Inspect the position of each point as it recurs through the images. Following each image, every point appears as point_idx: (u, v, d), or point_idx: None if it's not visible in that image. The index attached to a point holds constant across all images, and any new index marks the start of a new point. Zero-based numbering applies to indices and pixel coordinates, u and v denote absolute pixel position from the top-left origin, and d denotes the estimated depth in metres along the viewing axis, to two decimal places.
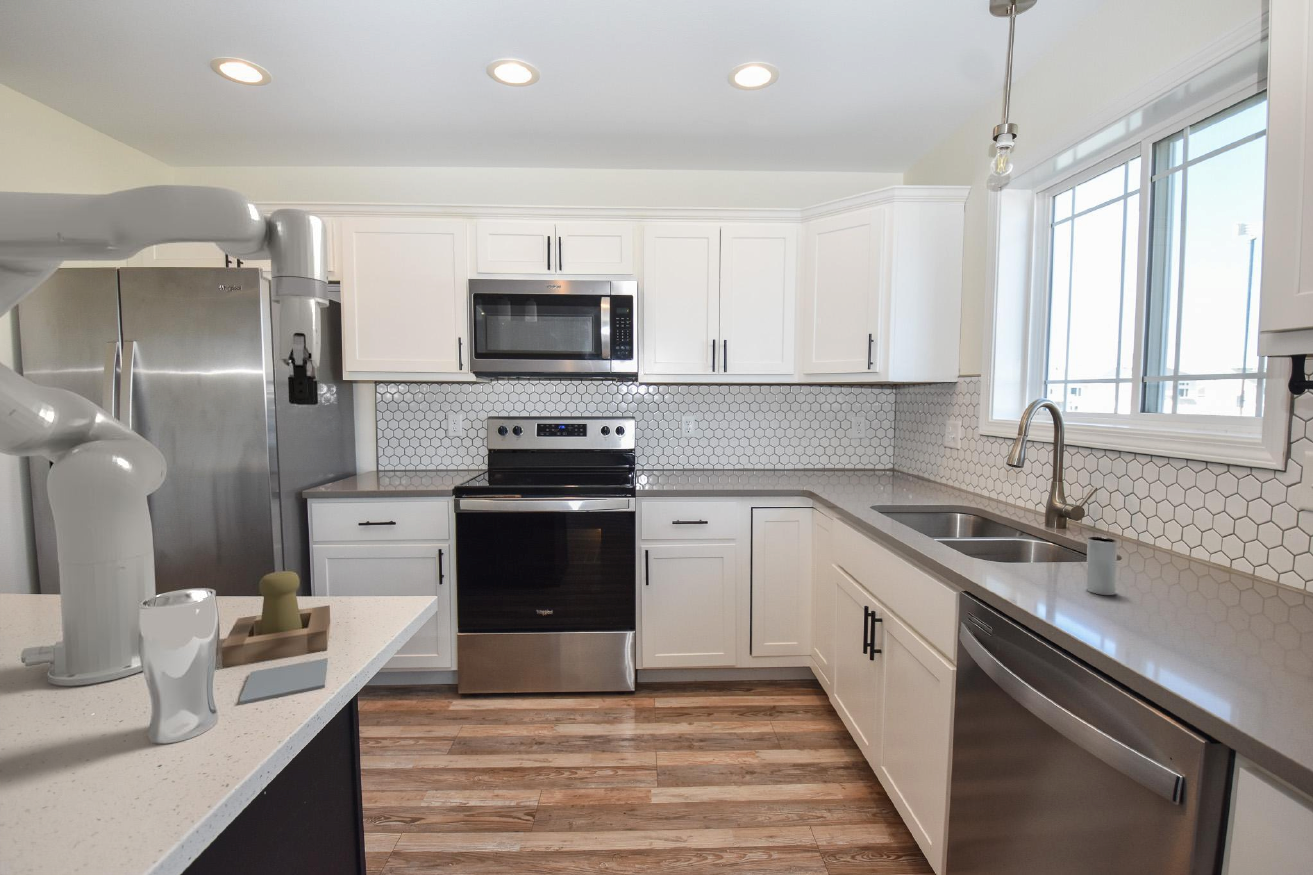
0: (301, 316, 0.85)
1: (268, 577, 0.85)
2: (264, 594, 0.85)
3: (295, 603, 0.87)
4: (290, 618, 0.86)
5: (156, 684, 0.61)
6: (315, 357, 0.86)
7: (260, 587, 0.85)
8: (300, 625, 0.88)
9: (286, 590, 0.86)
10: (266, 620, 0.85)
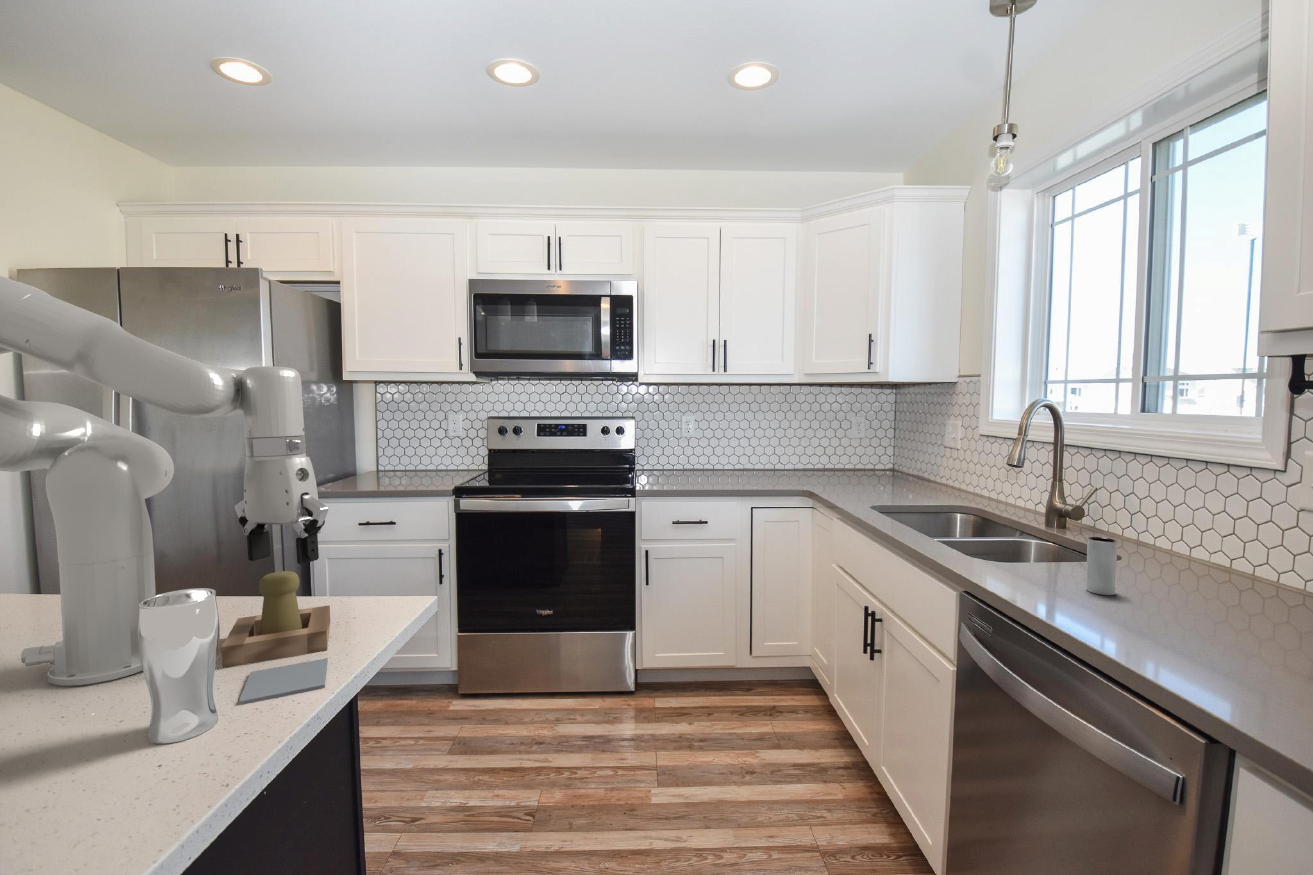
0: None
1: (268, 577, 0.85)
2: (264, 594, 0.85)
3: (295, 603, 0.87)
4: (290, 618, 0.86)
5: (156, 684, 0.61)
6: (246, 516, 0.86)
7: (260, 587, 0.85)
8: (300, 625, 0.88)
9: (286, 590, 0.86)
10: (266, 620, 0.85)
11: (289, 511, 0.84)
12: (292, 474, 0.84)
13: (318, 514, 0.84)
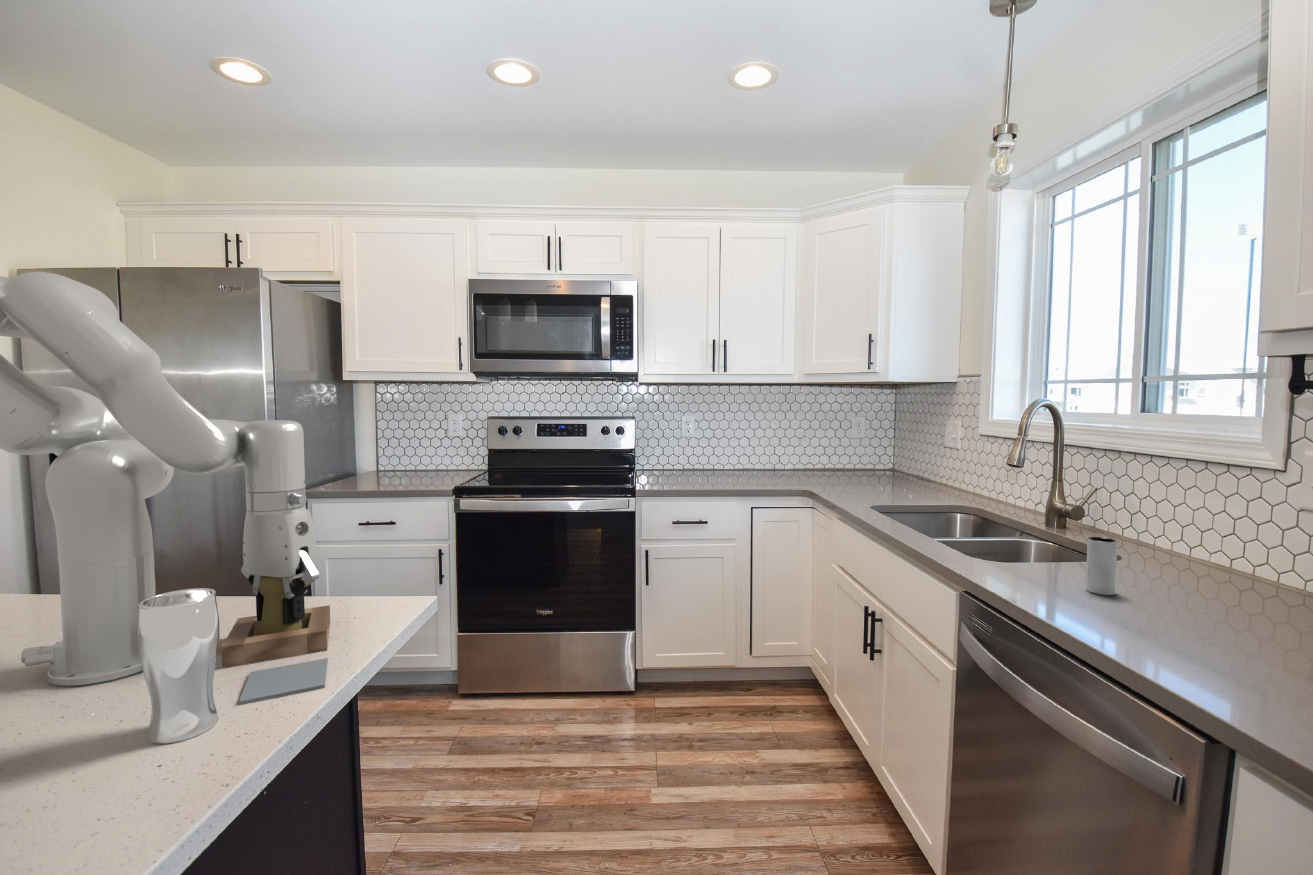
0: None
1: (268, 577, 0.85)
2: (264, 594, 0.85)
3: None
4: None
5: (156, 684, 0.61)
6: (245, 568, 0.86)
7: (260, 587, 0.85)
8: (300, 625, 0.88)
9: None
10: (267, 620, 0.85)
11: (288, 566, 0.84)
12: (292, 529, 0.84)
13: (308, 580, 0.85)
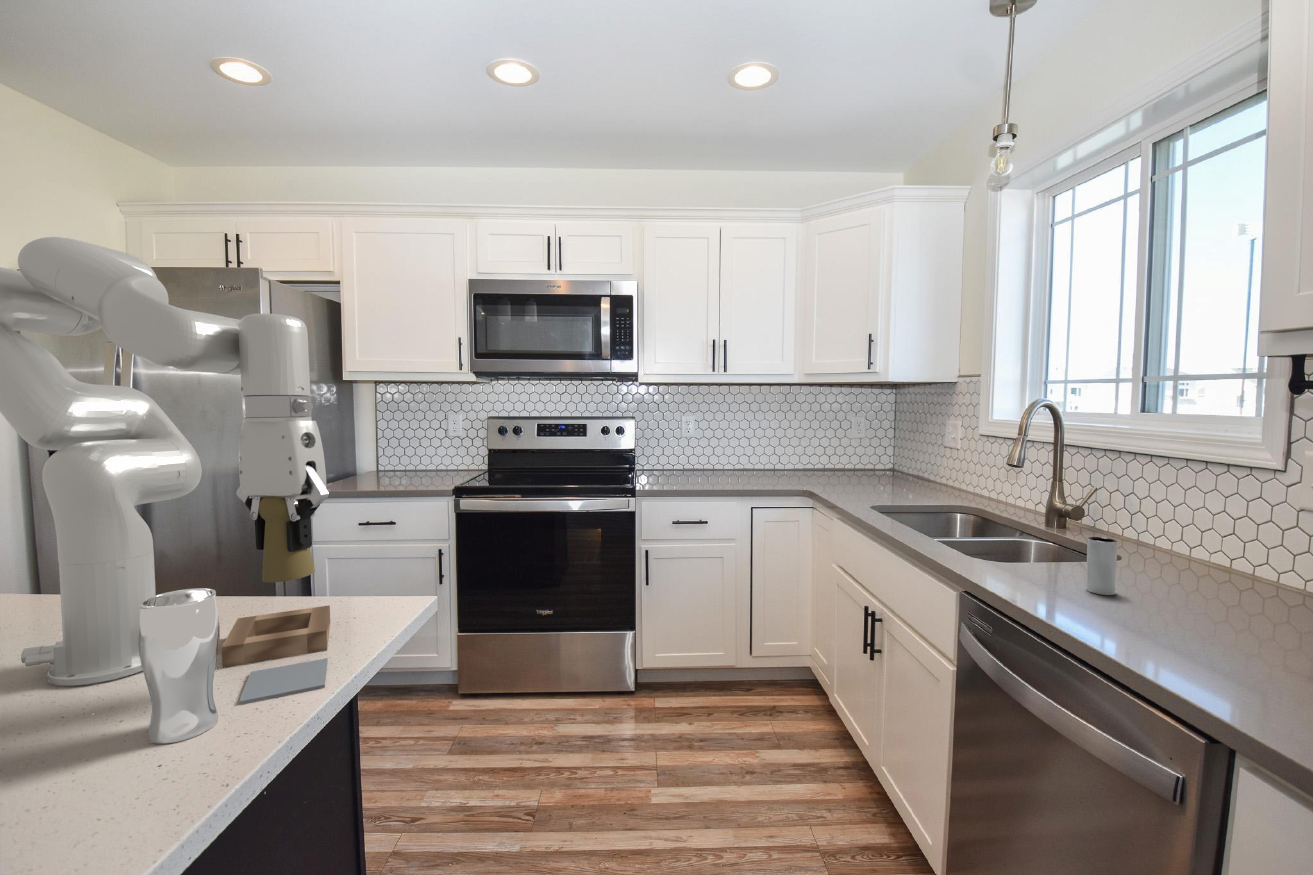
0: None
1: (269, 497, 0.74)
2: (266, 516, 0.73)
3: None
4: None
5: (156, 684, 0.61)
6: (241, 488, 0.74)
7: (260, 509, 0.73)
8: (309, 554, 0.76)
9: None
10: (270, 546, 0.73)
11: (292, 481, 0.72)
12: (296, 439, 0.72)
13: (316, 498, 0.73)
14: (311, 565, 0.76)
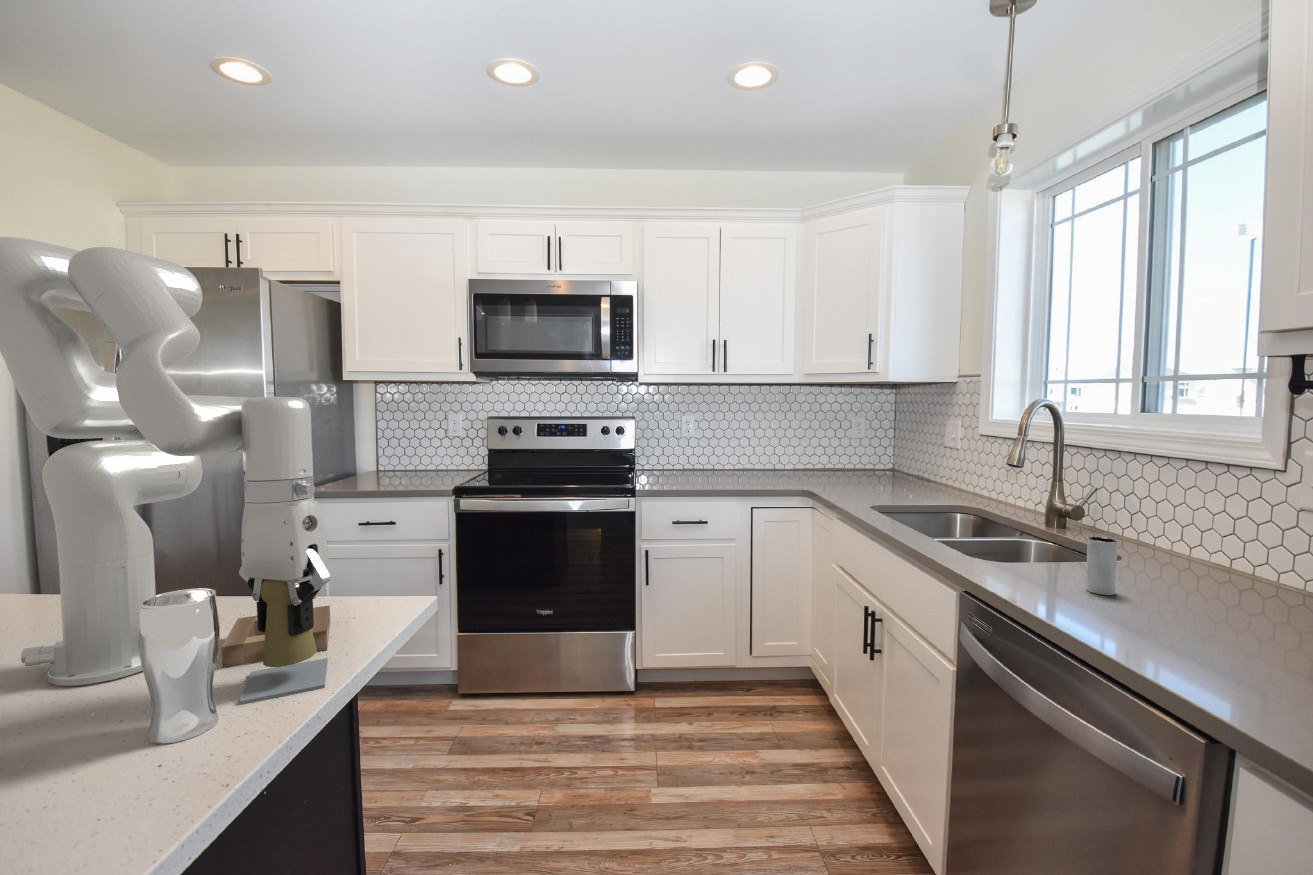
0: None
1: (271, 580, 0.73)
2: (267, 600, 0.72)
3: None
4: None
5: (156, 684, 0.61)
6: (243, 570, 0.74)
7: (262, 592, 0.73)
8: (311, 634, 0.76)
9: None
10: (271, 630, 0.73)
11: (294, 567, 0.71)
12: (298, 523, 0.72)
13: (317, 583, 0.72)
14: (313, 646, 0.76)
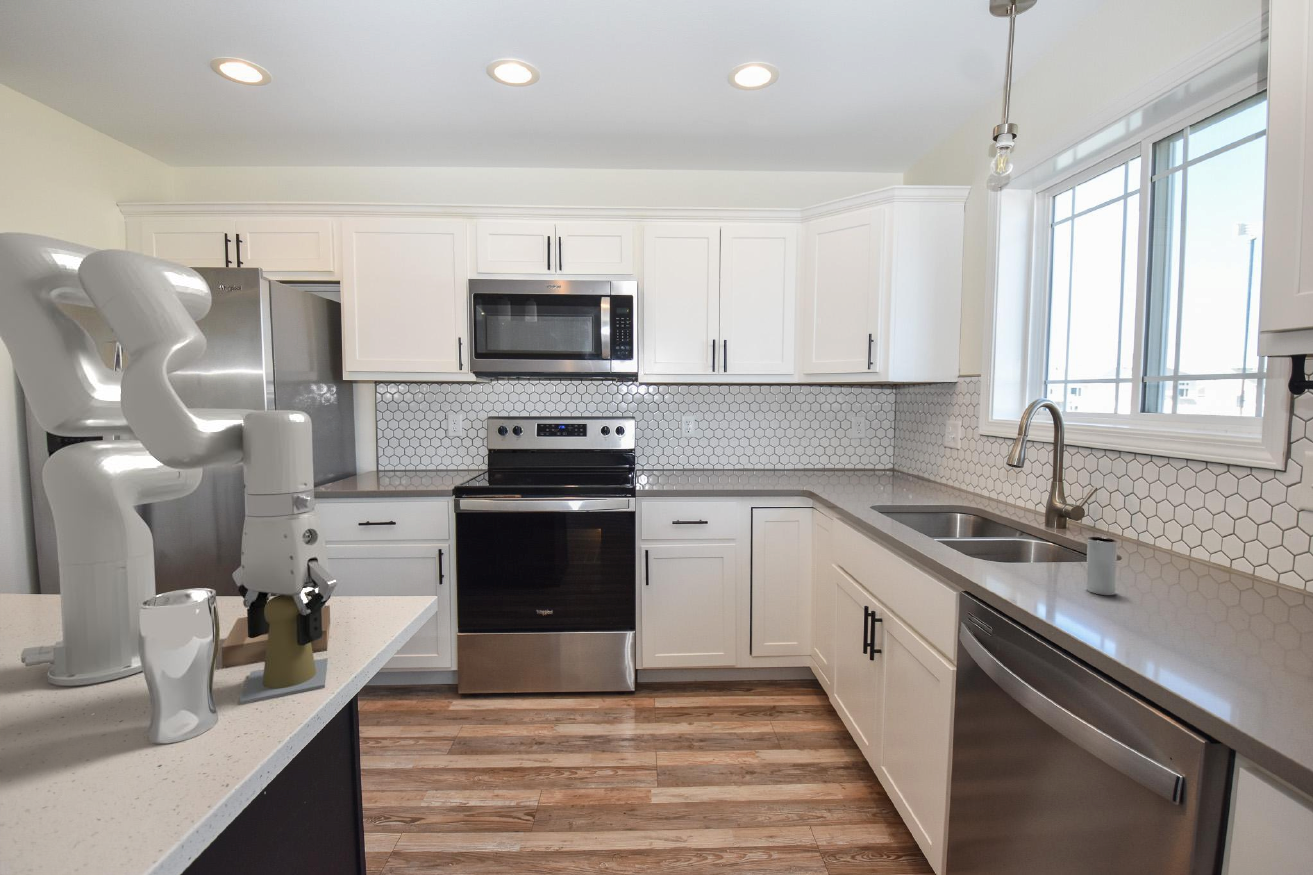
0: None
1: (275, 601, 0.73)
2: (271, 621, 0.73)
3: None
4: (300, 648, 0.74)
5: (156, 684, 0.61)
6: (243, 582, 0.74)
7: (266, 613, 0.73)
8: (312, 656, 0.76)
9: None
10: (273, 651, 0.73)
11: (294, 580, 0.71)
12: (298, 537, 0.72)
13: (324, 589, 0.72)
14: (313, 668, 0.76)
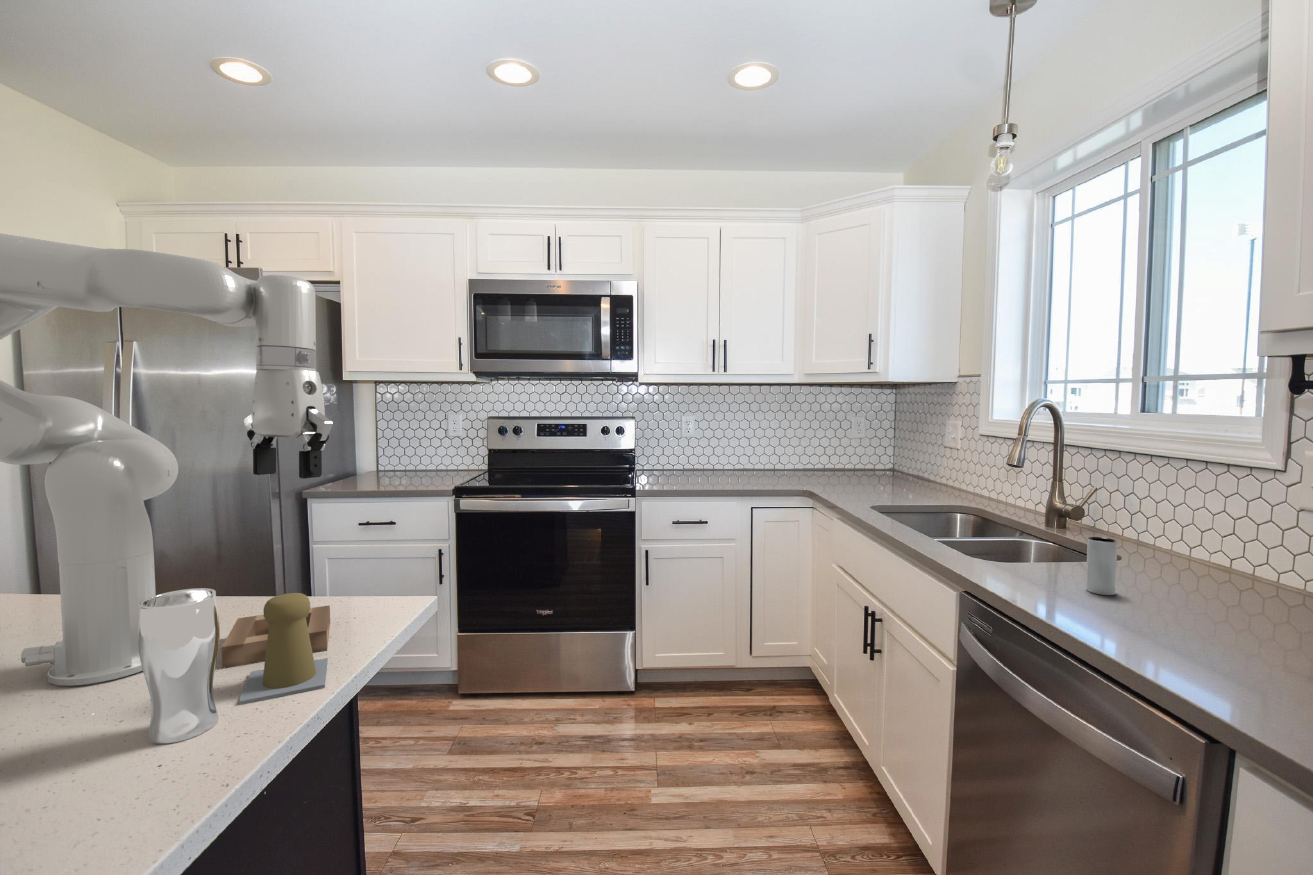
0: None
1: (274, 601, 0.73)
2: (270, 621, 0.73)
3: (306, 630, 0.75)
4: (300, 648, 0.74)
5: (156, 684, 0.61)
6: (253, 428, 0.85)
7: (265, 613, 0.73)
8: (311, 656, 0.76)
9: (296, 616, 0.73)
10: (273, 652, 0.73)
11: (294, 423, 0.82)
12: (299, 385, 0.82)
13: (322, 427, 0.82)
14: (313, 668, 0.76)
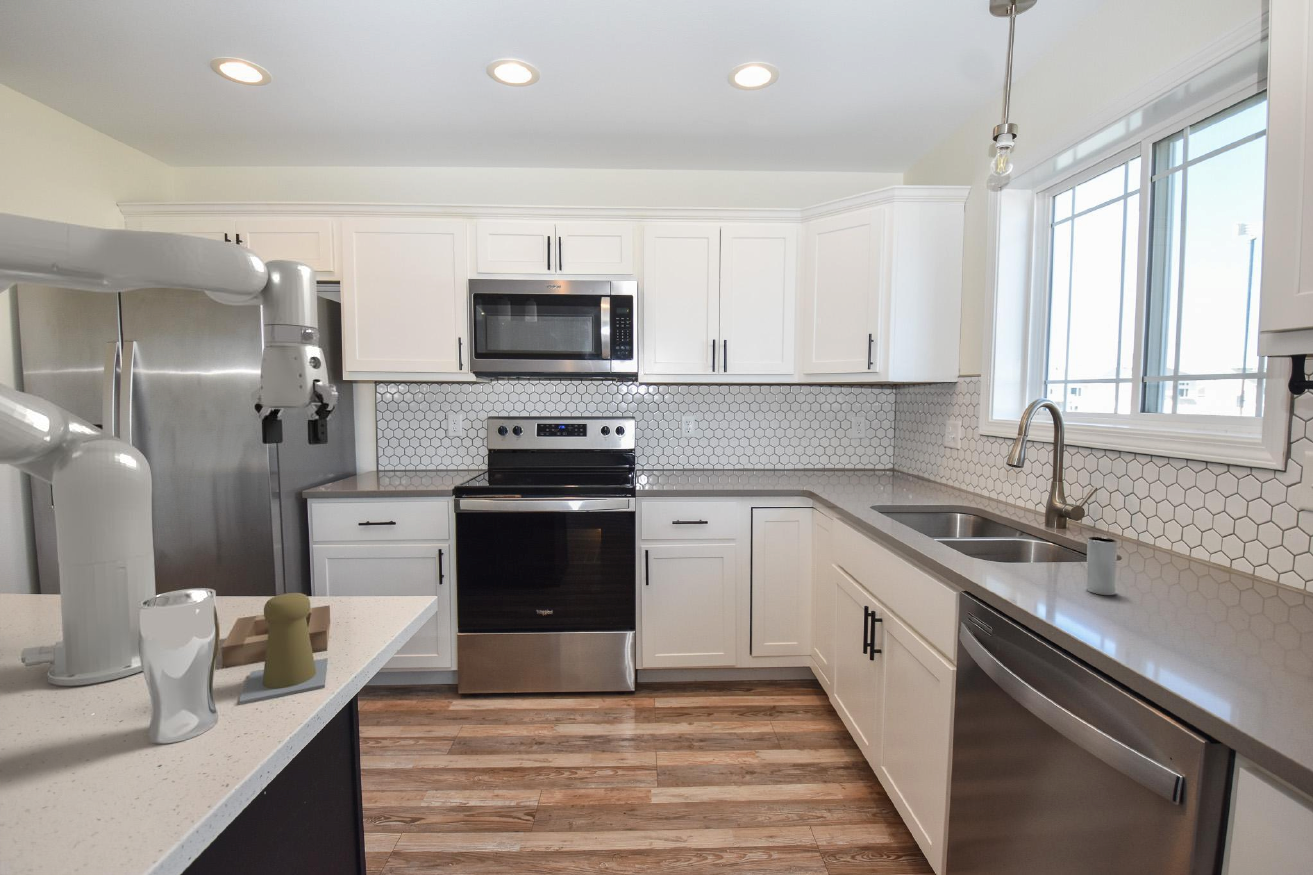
0: None
1: (274, 601, 0.73)
2: (270, 621, 0.73)
3: (306, 630, 0.75)
4: (300, 648, 0.74)
5: (156, 684, 0.61)
6: (262, 401, 0.93)
7: (265, 613, 0.73)
8: (311, 656, 0.76)
9: (296, 616, 0.74)
10: (273, 651, 0.73)
11: (302, 394, 0.91)
12: (306, 360, 0.91)
13: (329, 398, 0.91)
14: (313, 667, 0.76)
